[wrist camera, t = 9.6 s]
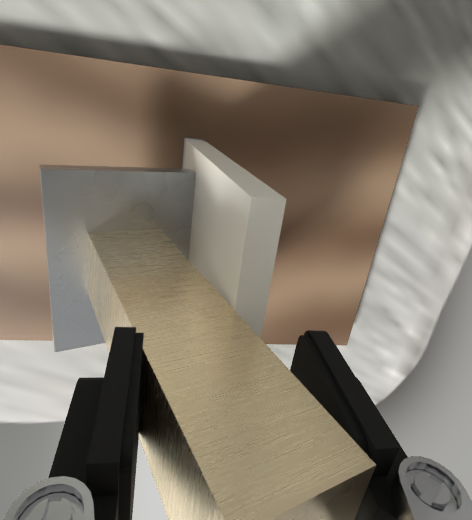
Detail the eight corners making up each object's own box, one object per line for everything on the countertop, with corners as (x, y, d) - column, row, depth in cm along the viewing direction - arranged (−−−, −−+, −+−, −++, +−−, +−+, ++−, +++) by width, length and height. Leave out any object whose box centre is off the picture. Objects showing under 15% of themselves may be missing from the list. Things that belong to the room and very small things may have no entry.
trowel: (39, 164, 14) (132, 451, 4) (189, 168, 17) (474, 337, 7) (53, 341, 17) (124, 757, 7) (177, 319, 20) (357, 590, 10)
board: (-62, 36, 18) (-81, 32, 16) (404, 104, 22) (418, 106, 21) (-14, 325, 24) (-25, 339, 23) (338, 332, 28) (346, 345, 27)
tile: (251, 197, 10) (293, 199, 10) (182, 136, 19) (205, 139, 20) (212, 463, 14) (243, 458, 14) (171, 305, 23) (190, 304, 24)
